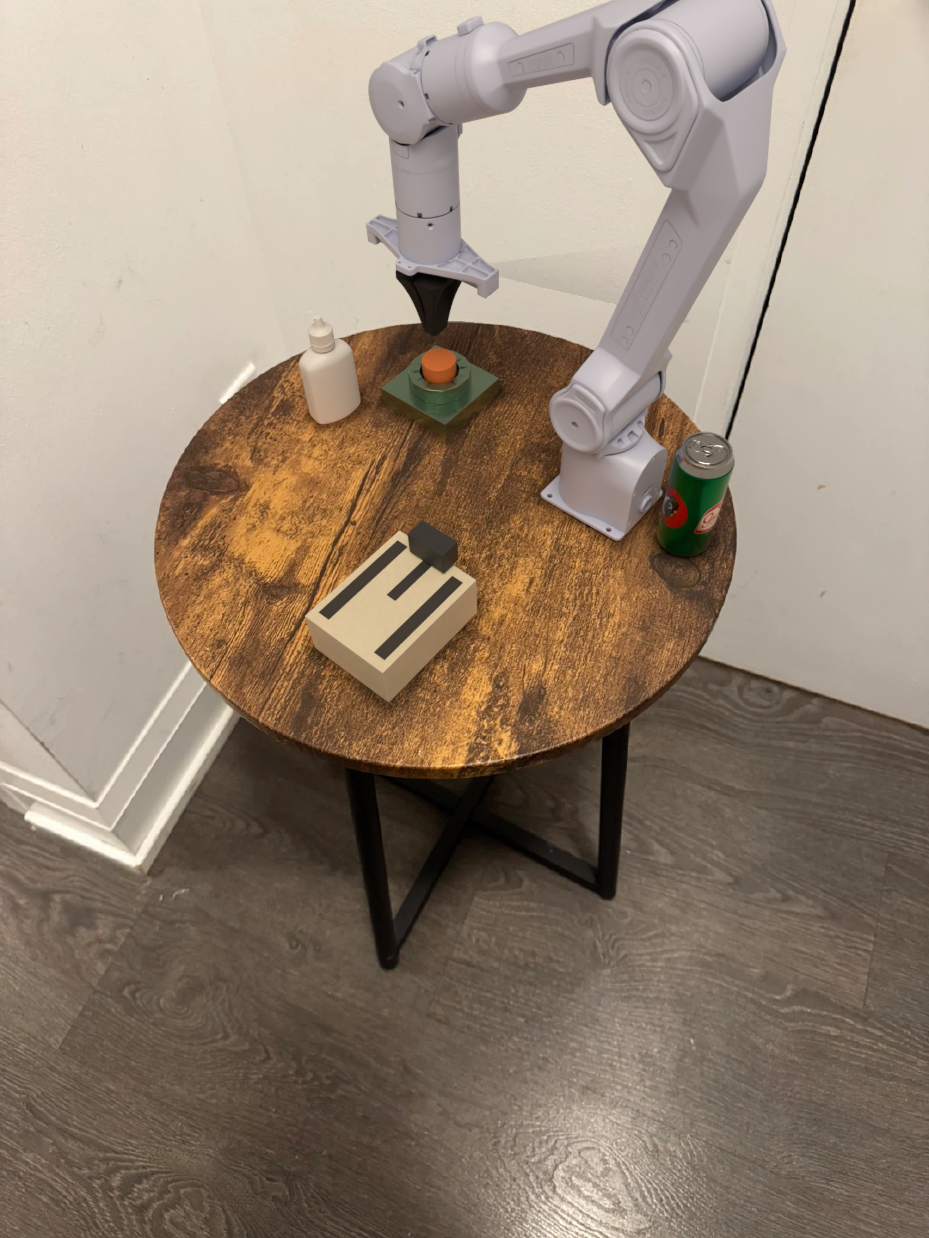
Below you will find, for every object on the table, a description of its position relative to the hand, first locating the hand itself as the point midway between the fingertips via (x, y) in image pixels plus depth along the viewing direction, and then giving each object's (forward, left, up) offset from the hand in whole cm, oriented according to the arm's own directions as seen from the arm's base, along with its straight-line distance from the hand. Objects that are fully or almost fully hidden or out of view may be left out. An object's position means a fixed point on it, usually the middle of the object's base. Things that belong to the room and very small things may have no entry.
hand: (435, 329), depth 89 cm
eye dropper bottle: (+8, +8, -10) cm, 15 cm away
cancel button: (0, 0, -6) cm, 6 cm away
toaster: (-16, +25, -9) cm, 32 cm away
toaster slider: (-16, +20, -4) cm, 26 cm away
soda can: (-31, +1, -10) cm, 32 cm away
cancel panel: (0, 0, -9) cm, 9 cm away
